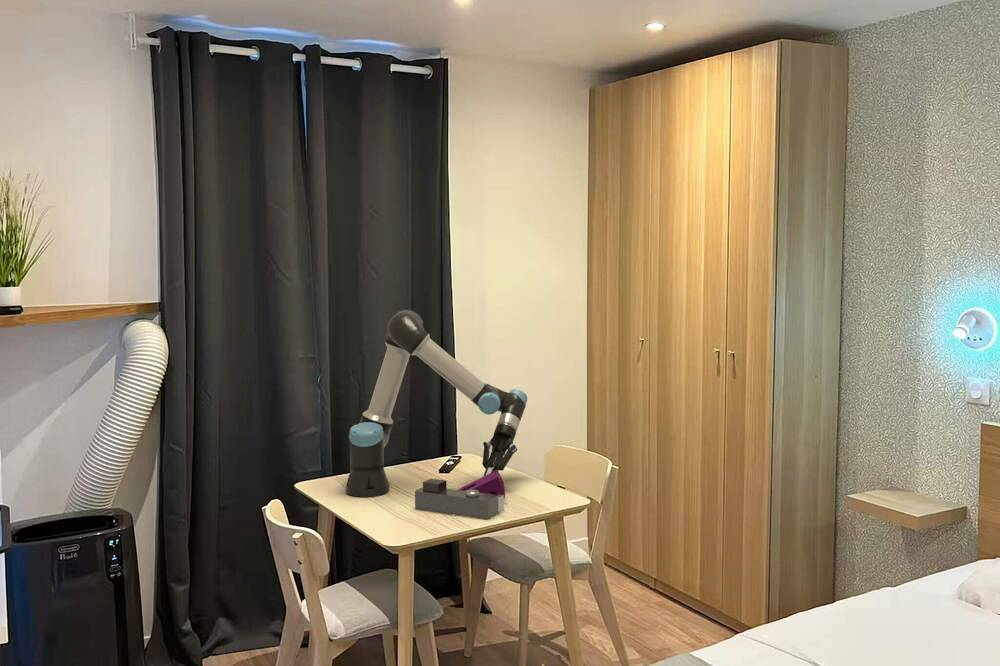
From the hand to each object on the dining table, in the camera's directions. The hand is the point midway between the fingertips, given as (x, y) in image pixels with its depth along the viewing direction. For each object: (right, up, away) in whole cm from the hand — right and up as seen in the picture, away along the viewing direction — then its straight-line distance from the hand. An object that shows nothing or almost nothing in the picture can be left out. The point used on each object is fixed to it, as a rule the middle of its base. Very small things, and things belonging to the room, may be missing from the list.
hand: (485, 485), depth 301 cm
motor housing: (-8, -5, -15) cm, 18 cm away
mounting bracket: (-3, -5, -6) cm, 8 cm away
